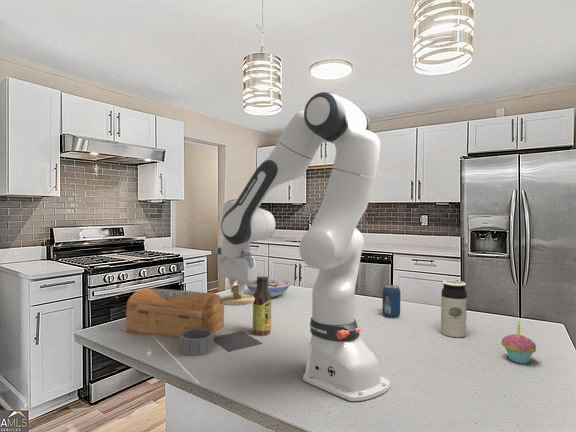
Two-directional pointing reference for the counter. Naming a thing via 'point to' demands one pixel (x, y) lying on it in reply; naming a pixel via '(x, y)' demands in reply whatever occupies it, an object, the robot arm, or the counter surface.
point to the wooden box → (173, 312)
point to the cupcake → (518, 347)
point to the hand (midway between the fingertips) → (237, 293)
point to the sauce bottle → (262, 307)
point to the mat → (236, 341)
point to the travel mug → (453, 309)
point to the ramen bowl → (272, 286)
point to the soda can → (391, 301)
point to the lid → (237, 298)
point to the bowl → (196, 342)
